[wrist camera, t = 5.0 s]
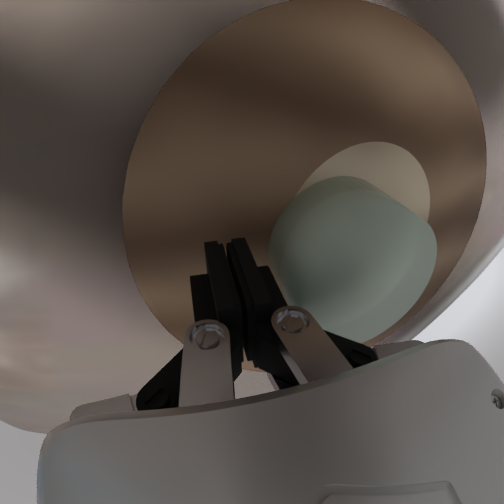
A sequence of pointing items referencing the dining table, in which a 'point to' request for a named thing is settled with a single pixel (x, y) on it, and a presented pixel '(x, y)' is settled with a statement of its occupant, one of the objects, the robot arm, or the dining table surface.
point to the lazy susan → (298, 141)
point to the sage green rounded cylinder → (351, 256)
